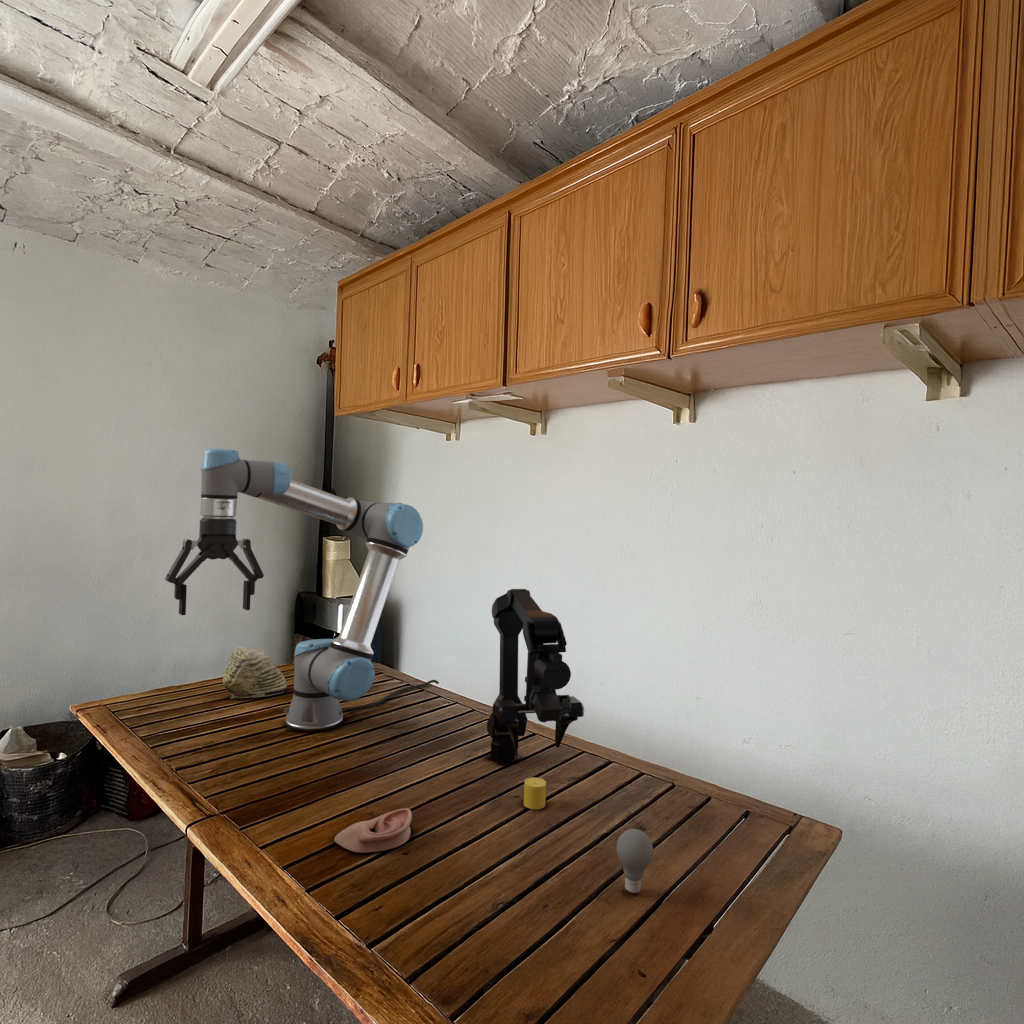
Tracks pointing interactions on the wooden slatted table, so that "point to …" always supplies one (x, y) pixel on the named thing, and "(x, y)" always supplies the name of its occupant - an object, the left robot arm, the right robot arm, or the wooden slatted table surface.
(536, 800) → the canister
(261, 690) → the fossil
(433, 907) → the wooden slatted table surface
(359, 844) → the anatomical model
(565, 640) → the right robot arm
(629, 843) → the light bulb
